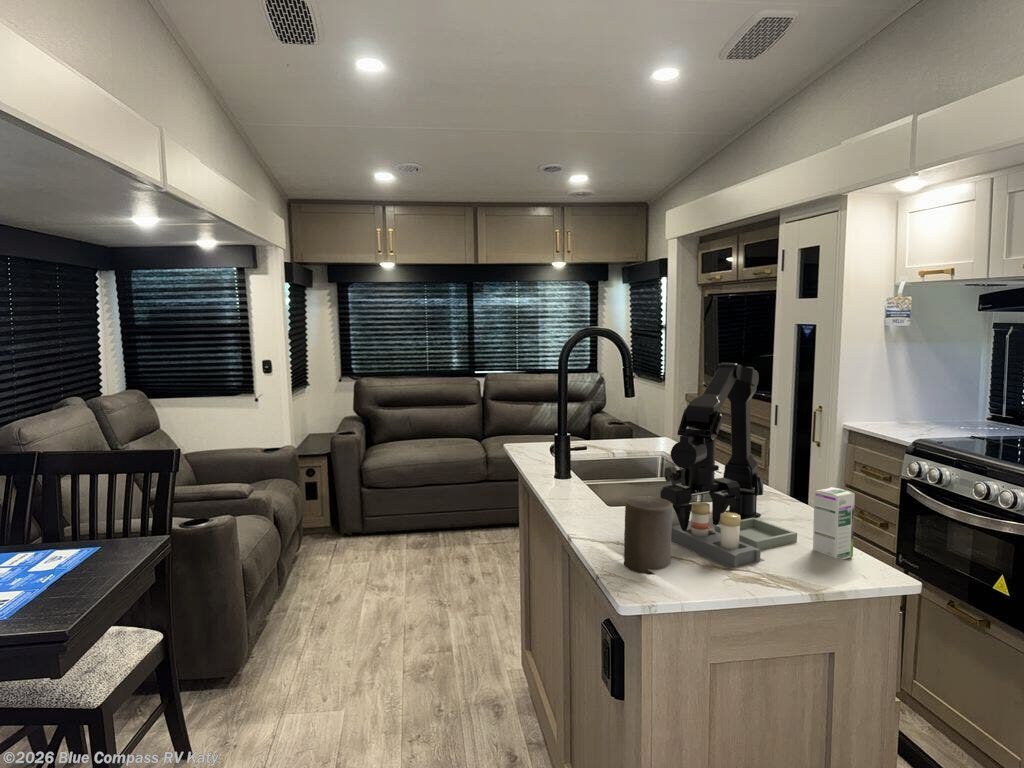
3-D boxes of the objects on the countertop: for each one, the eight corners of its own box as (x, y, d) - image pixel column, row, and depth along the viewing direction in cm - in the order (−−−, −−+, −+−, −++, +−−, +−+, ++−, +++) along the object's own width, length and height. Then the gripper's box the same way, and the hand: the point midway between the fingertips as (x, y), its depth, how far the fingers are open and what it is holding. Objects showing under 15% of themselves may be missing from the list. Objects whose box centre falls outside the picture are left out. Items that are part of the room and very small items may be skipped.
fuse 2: (729, 551, 136) (730, 511, 135) (743, 557, 133) (744, 516, 132) (715, 554, 134) (716, 514, 134) (729, 561, 131) (730, 519, 130)
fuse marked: (700, 538, 144) (700, 500, 143) (712, 544, 141) (713, 505, 140) (686, 541, 143) (687, 503, 142) (698, 547, 139) (699, 507, 138)
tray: (753, 529, 154) (753, 517, 153) (796, 545, 142) (797, 532, 142) (714, 537, 148) (714, 525, 148) (756, 555, 137) (756, 541, 136)
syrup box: (836, 562, 132) (839, 495, 131) (811, 553, 137) (814, 489, 136) (853, 557, 135) (856, 492, 133) (828, 549, 140) (831, 485, 139)
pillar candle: (623, 572, 128) (625, 501, 126) (623, 555, 137) (625, 488, 136) (672, 576, 126) (675, 504, 124) (669, 558, 136) (671, 490, 134)
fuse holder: (642, 532, 152) (643, 518, 152) (675, 526, 156) (675, 512, 156) (729, 573, 127) (729, 556, 127) (764, 564, 131) (765, 548, 131)
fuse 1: (673, 527, 152) (674, 491, 151) (685, 532, 149) (685, 495, 148) (660, 530, 151) (661, 493, 150) (671, 535, 147) (672, 497, 146)
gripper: (707, 449, 151) (705, 512, 153) (645, 457, 143) (644, 523, 144) (742, 458, 141) (740, 525, 143) (678, 467, 133) (676, 538, 134)
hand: (699, 527), depth 141 cm, fingers open, 9 cm apart
